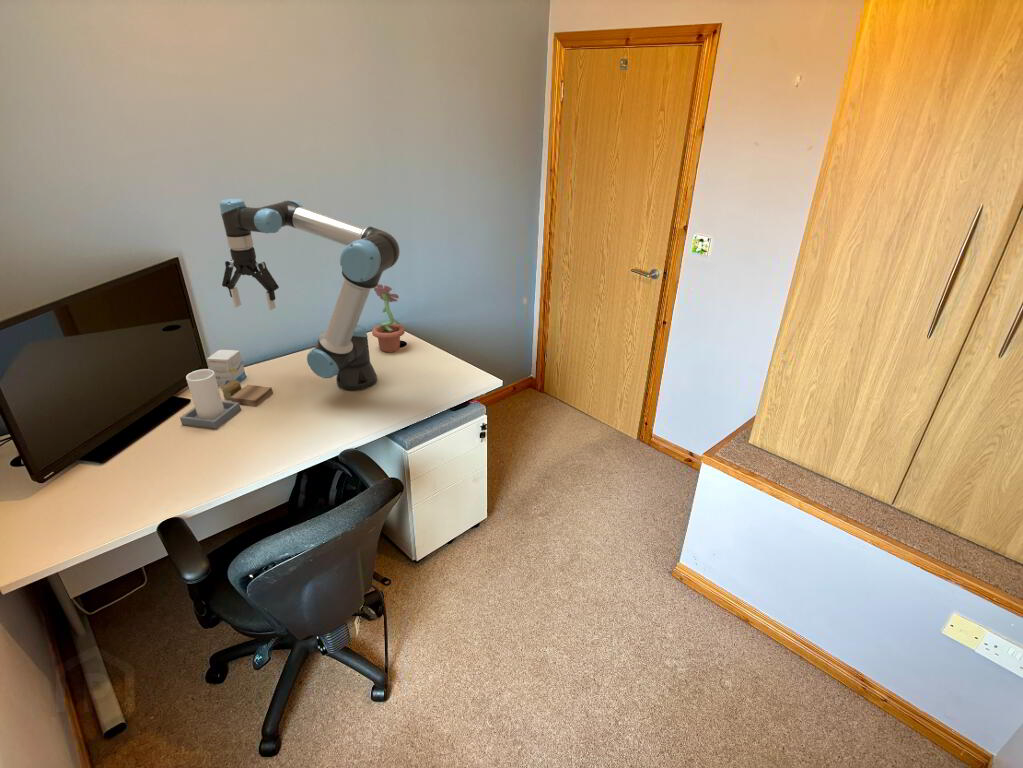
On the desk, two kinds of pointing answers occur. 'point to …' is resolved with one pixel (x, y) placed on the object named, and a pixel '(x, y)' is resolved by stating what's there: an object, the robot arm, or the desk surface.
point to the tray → (194, 421)
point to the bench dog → (231, 389)
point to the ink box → (226, 366)
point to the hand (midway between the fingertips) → (255, 307)
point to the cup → (205, 394)
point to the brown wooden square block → (252, 395)
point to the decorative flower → (388, 323)
